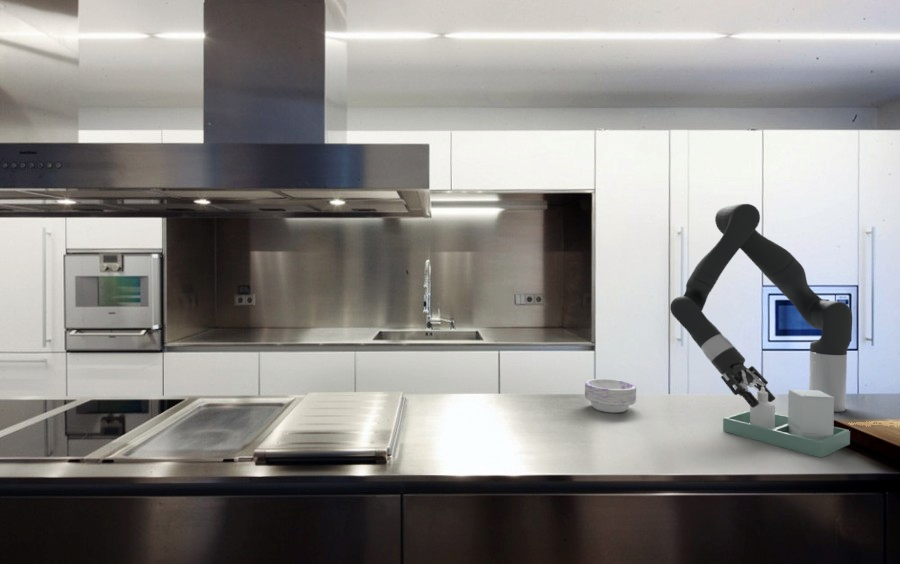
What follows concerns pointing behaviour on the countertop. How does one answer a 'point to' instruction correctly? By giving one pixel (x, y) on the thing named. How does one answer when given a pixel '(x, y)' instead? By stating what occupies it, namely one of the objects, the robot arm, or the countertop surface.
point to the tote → (785, 435)
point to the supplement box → (810, 414)
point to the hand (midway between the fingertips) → (764, 403)
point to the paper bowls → (610, 394)
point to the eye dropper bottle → (763, 411)
